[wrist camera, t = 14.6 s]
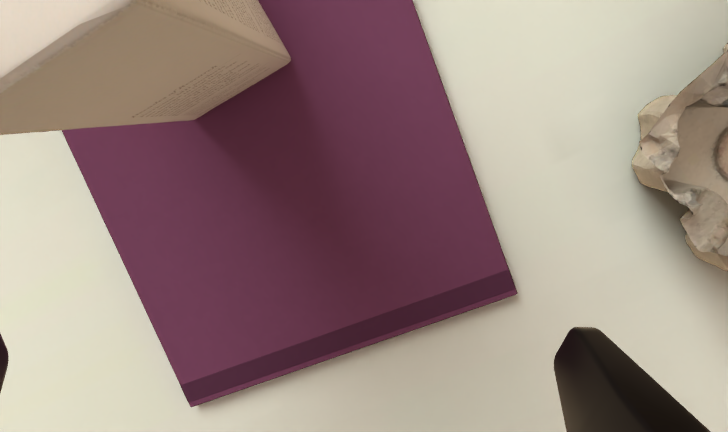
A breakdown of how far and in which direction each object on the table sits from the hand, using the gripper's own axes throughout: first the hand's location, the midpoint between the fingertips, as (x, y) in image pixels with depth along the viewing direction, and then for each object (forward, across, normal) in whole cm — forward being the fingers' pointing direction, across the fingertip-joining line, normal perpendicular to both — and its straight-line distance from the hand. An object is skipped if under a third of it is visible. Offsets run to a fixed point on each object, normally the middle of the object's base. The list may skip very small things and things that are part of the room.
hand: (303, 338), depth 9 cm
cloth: (+12, +1, +4) cm, 13 cm away
